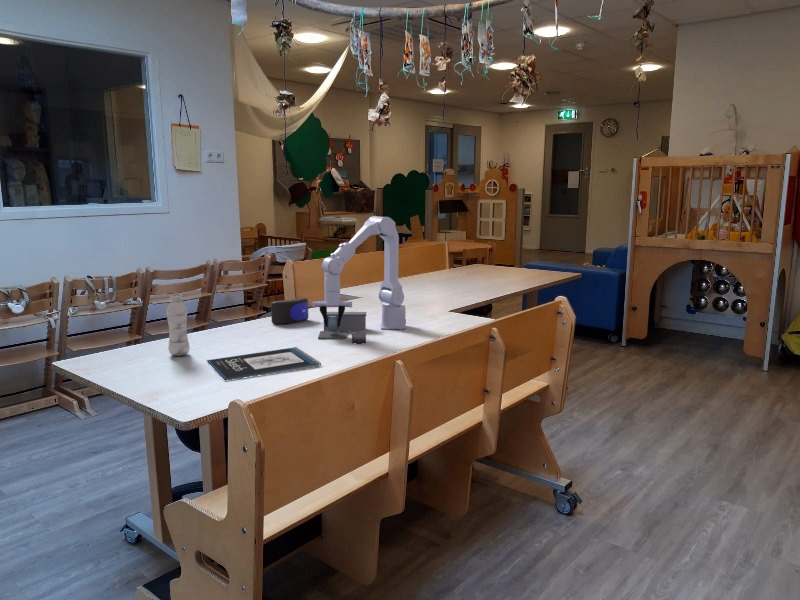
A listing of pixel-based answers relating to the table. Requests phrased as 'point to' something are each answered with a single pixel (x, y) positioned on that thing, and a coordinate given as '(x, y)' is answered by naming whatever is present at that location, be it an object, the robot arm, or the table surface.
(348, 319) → the block
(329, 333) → the mat
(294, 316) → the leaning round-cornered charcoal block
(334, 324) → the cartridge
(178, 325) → the plastic bottle
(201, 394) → the table surface
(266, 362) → the sketchbook
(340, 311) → the robot arm
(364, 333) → the cap
